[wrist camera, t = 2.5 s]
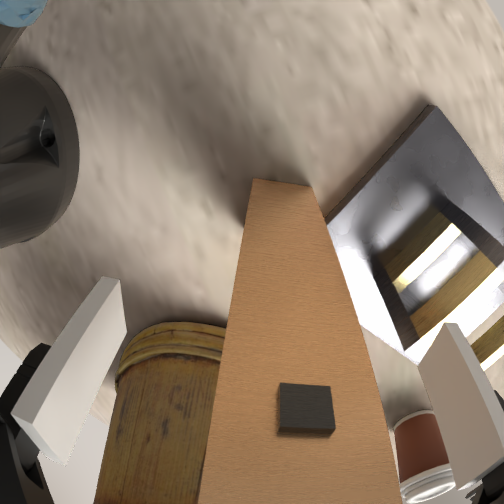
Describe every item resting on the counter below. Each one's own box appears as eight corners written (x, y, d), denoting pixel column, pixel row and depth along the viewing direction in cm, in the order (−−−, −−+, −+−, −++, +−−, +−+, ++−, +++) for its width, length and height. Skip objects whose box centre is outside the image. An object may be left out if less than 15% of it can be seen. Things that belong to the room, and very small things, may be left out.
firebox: (283, 261, 24) (287, 348, 16) (428, 104, 18) (510, 124, 10) (421, 362, 29) (446, 429, 22) (528, 261, 23) (578, 315, 15)
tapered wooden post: (245, 230, 23) (197, 547, 6) (253, 174, 21) (193, 526, 4) (300, 238, 23) (336, 551, 6) (312, 183, 21) (411, 520, 4)
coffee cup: (453, 410, 35) (475, 477, 24) (407, 441, 39) (421, 505, 28) (422, 398, 33) (445, 478, 22) (371, 432, 37) (383, 507, 26)
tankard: (325, 385, 31) (342, 614, 10) (190, 443, 40) (164, 593, 18) (192, 282, 26) (97, 619, 4) (83, 380, 34) (16, 544, 13)
